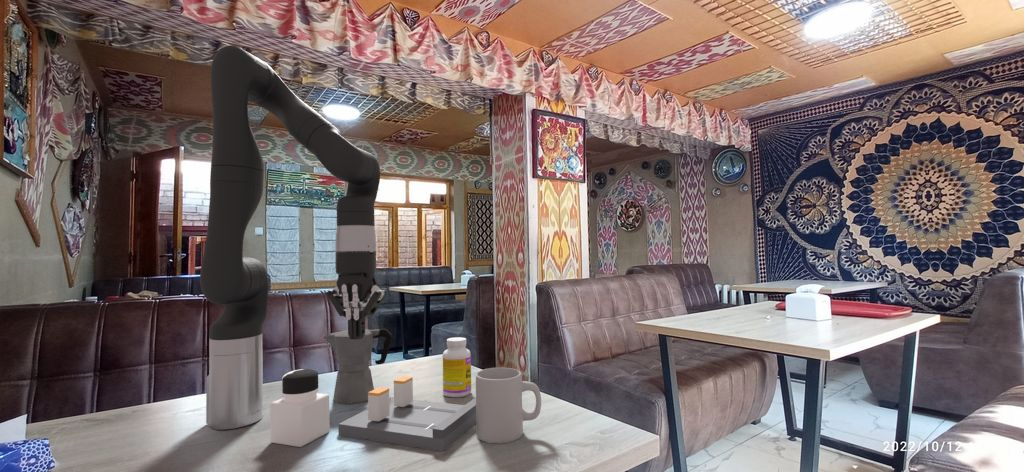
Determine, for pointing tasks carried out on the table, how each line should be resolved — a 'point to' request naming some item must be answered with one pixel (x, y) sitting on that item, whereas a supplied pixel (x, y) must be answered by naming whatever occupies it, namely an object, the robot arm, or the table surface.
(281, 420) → the medicine bottle
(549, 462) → the table surface
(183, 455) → the table surface
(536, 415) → the mug
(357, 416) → the console
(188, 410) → the table surface
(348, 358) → the coffeepot
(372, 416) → the fader near
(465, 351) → the supplement bottle
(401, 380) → the fader far
